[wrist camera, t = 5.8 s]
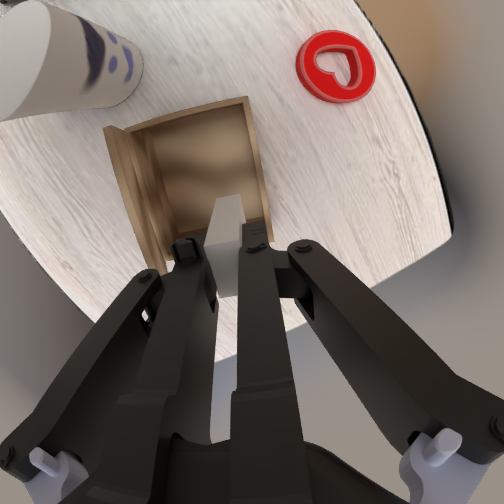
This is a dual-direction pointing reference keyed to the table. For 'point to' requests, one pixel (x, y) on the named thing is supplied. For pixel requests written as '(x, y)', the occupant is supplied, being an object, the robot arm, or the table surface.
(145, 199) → the wooden box
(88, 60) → the container
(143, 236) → the lid
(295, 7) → the table surface
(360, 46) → the decorative ornament
